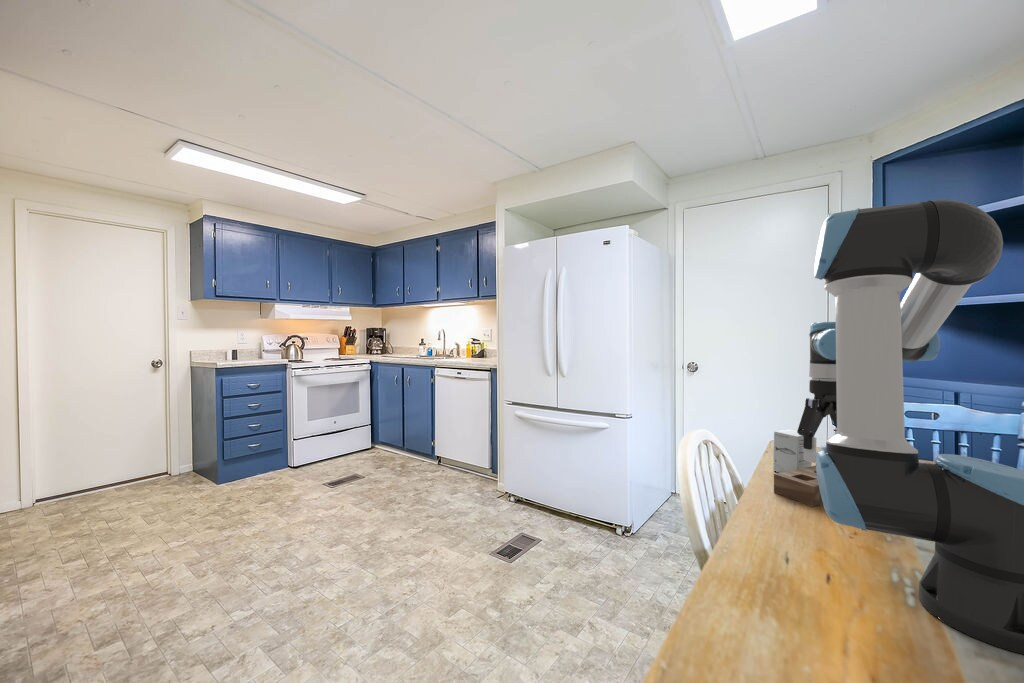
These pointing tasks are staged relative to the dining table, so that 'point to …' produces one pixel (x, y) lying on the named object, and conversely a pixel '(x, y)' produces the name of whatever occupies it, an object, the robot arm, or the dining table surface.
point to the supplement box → (789, 451)
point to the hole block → (799, 485)
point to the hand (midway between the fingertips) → (825, 458)
